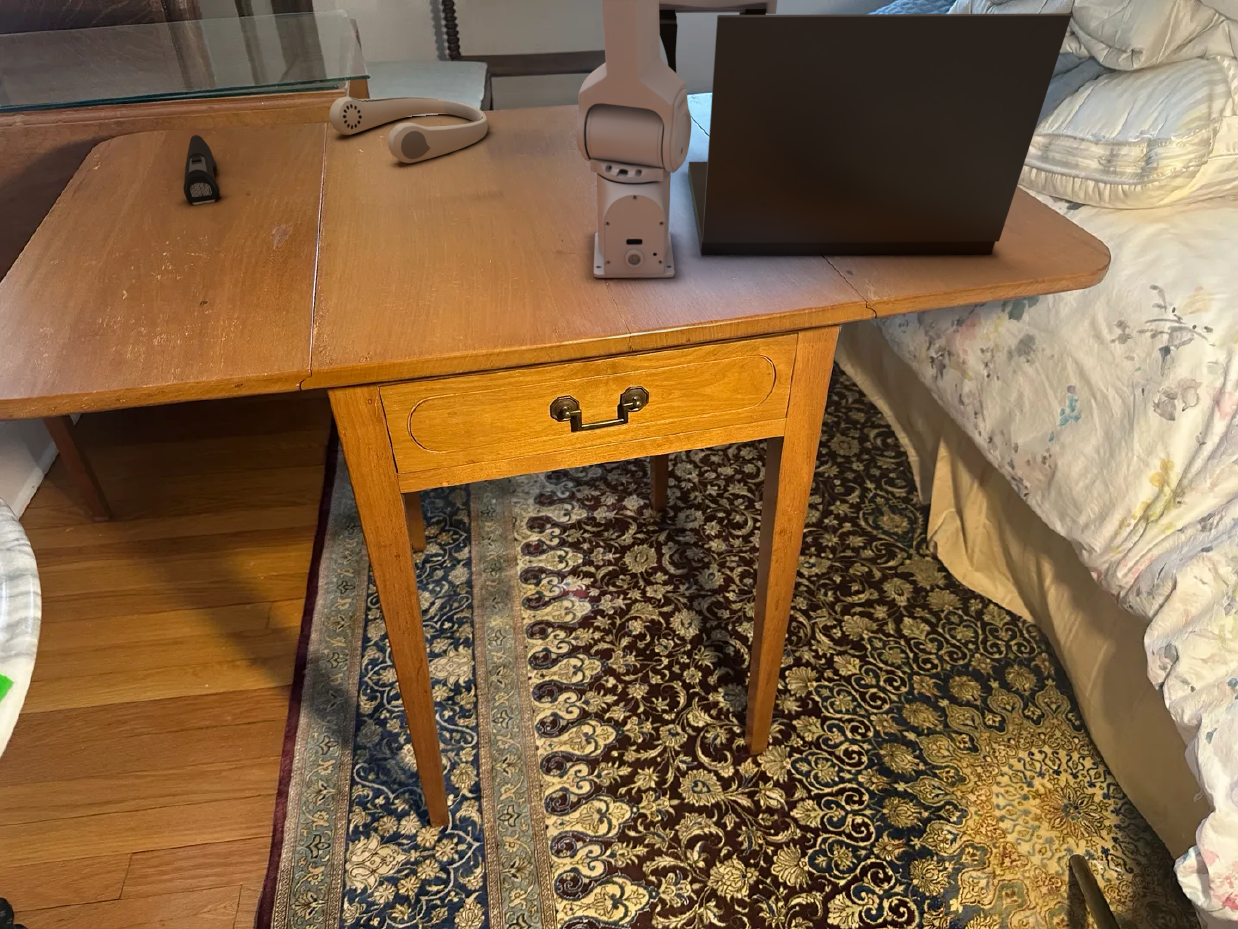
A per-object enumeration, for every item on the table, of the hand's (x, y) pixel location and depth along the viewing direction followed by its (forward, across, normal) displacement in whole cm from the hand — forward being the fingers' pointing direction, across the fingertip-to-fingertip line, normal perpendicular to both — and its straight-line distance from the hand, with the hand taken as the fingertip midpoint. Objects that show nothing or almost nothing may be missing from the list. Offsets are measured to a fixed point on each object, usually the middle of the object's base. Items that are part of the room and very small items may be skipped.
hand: (705, 81), depth 100 cm
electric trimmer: (+10, +61, +3) cm, 62 cm away
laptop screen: (-2, -13, +24) cm, 28 cm away
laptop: (+10, -13, +13) cm, 21 cm away
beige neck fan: (+10, +37, -12) cm, 40 cm away
